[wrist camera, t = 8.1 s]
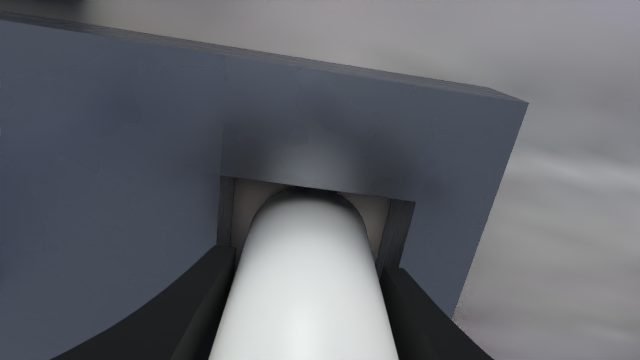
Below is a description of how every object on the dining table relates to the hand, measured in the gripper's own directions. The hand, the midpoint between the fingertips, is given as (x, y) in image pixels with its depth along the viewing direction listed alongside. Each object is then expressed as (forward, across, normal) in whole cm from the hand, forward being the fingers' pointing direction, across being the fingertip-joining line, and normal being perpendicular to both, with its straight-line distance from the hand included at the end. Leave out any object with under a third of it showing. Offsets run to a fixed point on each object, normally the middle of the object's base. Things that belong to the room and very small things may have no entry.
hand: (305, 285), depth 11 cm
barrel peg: (+2, 0, 0) cm, 2 cm away
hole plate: (+3, +3, 0) cm, 4 cm away
